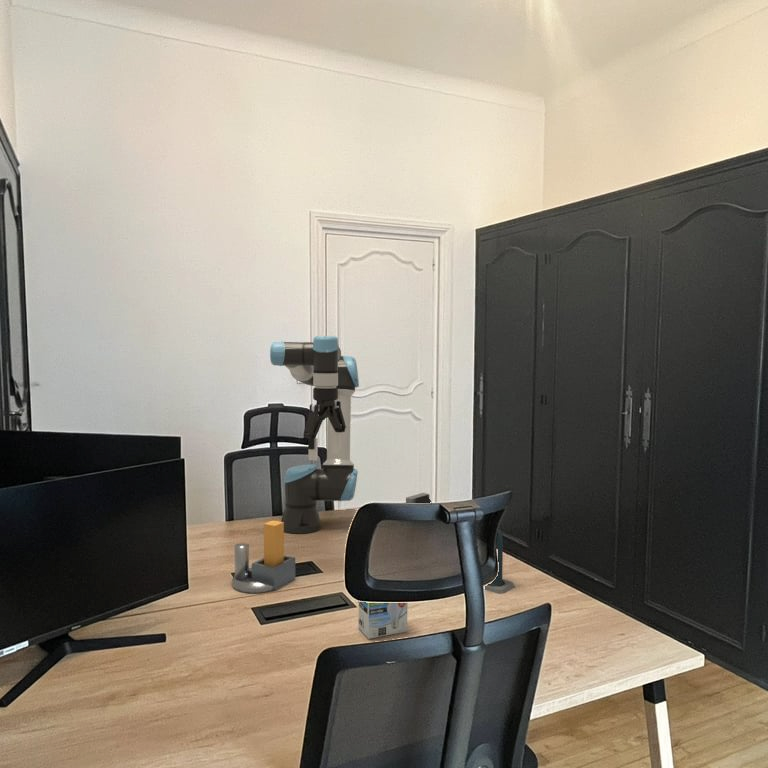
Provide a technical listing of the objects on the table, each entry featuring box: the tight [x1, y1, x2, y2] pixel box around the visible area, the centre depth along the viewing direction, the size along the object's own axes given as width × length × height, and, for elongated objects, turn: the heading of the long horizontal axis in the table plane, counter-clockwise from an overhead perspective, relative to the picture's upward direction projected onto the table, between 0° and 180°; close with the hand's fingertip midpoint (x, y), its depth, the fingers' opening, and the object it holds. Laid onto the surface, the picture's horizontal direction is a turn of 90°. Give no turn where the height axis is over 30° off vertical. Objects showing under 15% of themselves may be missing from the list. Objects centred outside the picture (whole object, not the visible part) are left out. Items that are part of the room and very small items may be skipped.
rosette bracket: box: [231, 542, 296, 595], centre depth 183 cm, size 15×15×11 cm
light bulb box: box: [357, 601, 409, 640], centre depth 154 cm, size 11×7×11 cm, turn 115°
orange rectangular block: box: [263, 520, 285, 567], centre depth 183 cm, size 4×4×16 cm
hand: (325, 456), depth 194 cm, fingers open, 13 cm apart
